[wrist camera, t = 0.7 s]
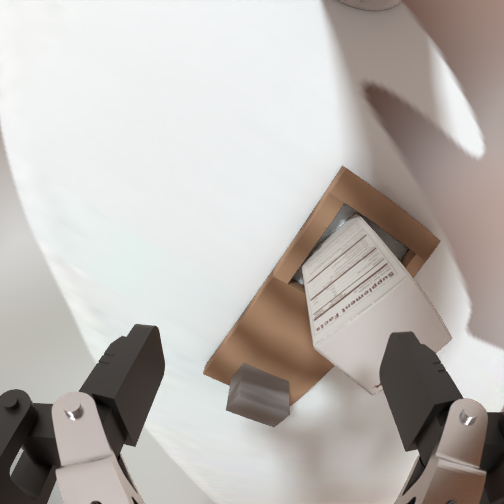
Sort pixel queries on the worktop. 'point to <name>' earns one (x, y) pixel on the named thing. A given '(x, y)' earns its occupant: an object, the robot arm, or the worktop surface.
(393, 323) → the supplement box
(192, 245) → the worktop surface
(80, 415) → the robot arm
